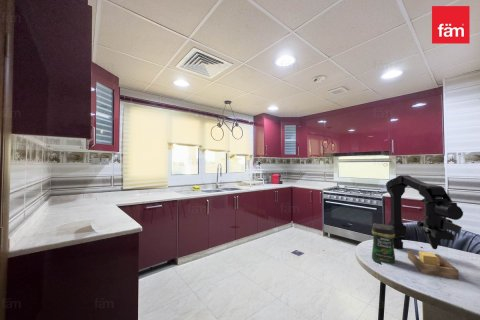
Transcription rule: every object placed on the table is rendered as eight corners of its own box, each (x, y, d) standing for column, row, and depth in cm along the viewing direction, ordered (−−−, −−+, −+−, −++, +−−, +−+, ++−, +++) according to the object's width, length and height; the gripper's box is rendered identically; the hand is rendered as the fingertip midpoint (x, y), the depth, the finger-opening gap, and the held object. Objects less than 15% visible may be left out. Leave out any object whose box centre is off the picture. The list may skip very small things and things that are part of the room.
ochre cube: (423, 266, 94) (423, 255, 94) (419, 261, 98) (418, 251, 98) (437, 268, 92) (437, 257, 92) (432, 263, 96) (431, 252, 96)
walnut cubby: (421, 275, 88) (421, 264, 88) (407, 259, 102) (407, 250, 102) (458, 281, 83) (458, 270, 83) (438, 264, 98) (438, 254, 98)
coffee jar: (371, 262, 100) (371, 224, 101) (372, 256, 107) (371, 221, 107) (396, 267, 95) (395, 228, 95) (395, 261, 101) (394, 224, 102)
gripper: (472, 221, 78) (473, 261, 77) (445, 211, 95) (446, 244, 95) (435, 218, 82) (436, 256, 82) (416, 209, 99) (416, 240, 99)
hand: (434, 248), depth 89 cm, fingers closed
